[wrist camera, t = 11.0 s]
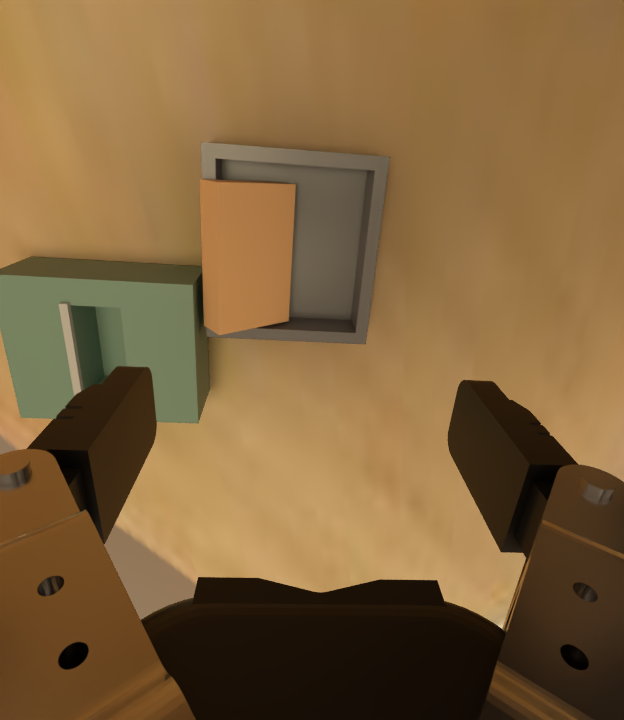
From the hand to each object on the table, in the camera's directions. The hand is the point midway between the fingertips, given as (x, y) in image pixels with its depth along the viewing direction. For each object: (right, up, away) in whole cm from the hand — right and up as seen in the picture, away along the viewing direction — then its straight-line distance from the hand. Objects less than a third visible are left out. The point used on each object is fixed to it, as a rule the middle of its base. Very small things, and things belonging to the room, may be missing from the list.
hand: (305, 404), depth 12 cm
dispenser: (-14, +4, +22) cm, 26 cm away
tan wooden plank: (-4, +4, +19) cm, 20 cm away
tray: (-1, +9, +20) cm, 22 cm away
